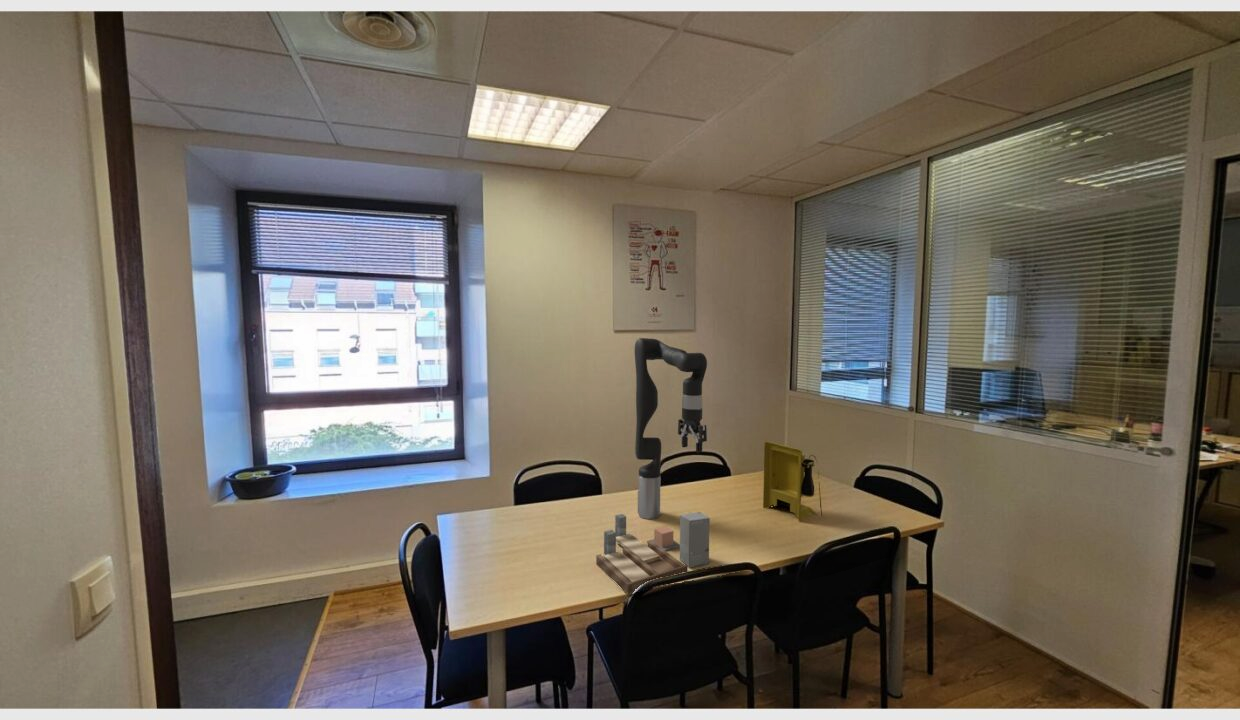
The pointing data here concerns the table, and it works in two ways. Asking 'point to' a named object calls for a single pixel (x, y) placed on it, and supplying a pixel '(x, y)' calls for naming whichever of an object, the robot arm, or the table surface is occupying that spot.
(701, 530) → the skincare box
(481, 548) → the table surface
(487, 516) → the table surface
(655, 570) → the lane board
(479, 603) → the table surface
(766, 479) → the vintage telephone
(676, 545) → the pad
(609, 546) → the strip
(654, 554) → the strip
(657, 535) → the cube
